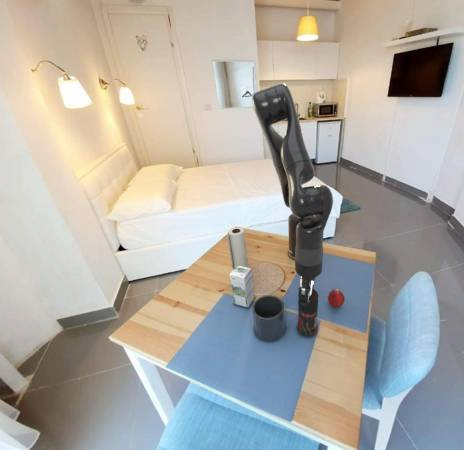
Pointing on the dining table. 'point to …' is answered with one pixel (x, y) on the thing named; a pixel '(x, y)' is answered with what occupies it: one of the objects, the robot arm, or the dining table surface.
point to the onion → (336, 298)
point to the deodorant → (308, 316)
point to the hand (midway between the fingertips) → (307, 300)
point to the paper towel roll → (237, 247)
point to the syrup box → (242, 286)
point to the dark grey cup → (269, 317)
